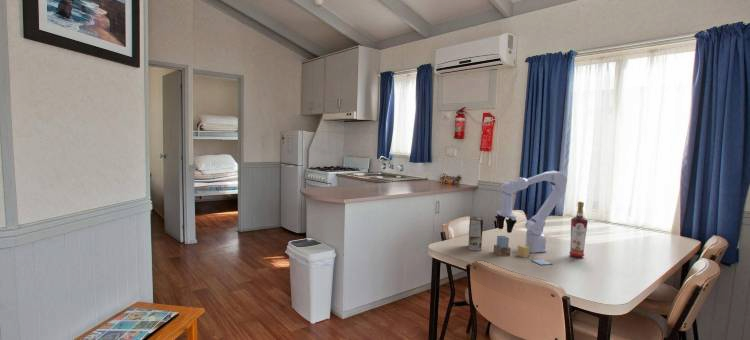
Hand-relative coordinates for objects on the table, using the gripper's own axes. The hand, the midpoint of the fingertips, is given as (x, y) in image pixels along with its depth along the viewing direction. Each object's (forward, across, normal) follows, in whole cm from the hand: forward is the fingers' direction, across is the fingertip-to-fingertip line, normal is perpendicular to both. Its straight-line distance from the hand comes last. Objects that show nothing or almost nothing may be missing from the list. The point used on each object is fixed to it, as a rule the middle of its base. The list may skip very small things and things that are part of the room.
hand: (504, 230), depth 197 cm
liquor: (+10, +18, +30) cm, 36 cm away
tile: (+10, +23, +5) cm, 26 cm away
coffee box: (+10, -4, -15) cm, 19 cm away
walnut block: (+10, +7, -6) cm, 14 cm away
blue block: (+6, +7, -6) cm, 11 cm away
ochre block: (+10, +12, +3) cm, 16 cm away
